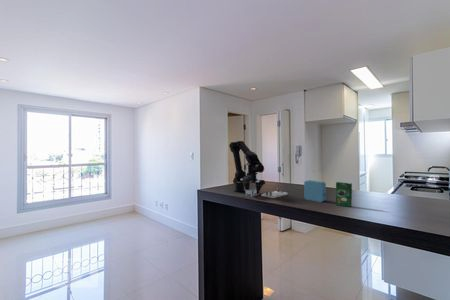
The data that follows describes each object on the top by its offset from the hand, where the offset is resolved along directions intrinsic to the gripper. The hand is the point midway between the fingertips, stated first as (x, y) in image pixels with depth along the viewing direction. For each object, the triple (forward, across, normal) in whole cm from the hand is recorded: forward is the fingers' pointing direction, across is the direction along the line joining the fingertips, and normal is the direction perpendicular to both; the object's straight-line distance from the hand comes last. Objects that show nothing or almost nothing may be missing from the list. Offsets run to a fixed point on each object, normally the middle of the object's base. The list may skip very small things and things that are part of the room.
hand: (252, 193), depth 159 cm
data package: (+2, +38, +16) cm, 41 cm away
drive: (+2, 0, 0) cm, 2 cm away
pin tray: (+1, +11, +11) cm, 16 cm away
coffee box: (+2, +56, +14) cm, 58 cm away
